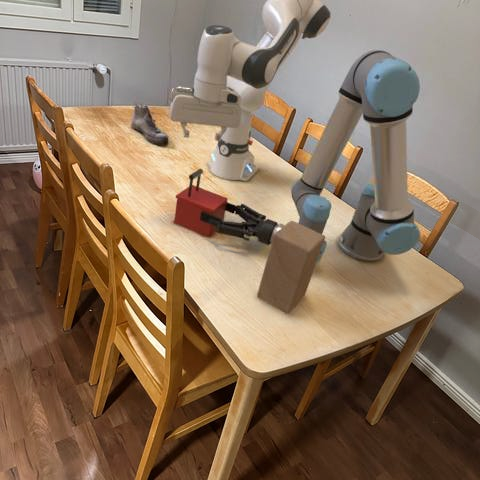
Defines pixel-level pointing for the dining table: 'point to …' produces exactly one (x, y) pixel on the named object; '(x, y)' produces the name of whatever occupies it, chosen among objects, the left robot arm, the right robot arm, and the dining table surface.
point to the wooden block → (290, 265)
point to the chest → (196, 217)
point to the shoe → (147, 125)
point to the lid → (201, 195)
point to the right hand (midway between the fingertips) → (209, 208)
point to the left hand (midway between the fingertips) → (201, 138)
